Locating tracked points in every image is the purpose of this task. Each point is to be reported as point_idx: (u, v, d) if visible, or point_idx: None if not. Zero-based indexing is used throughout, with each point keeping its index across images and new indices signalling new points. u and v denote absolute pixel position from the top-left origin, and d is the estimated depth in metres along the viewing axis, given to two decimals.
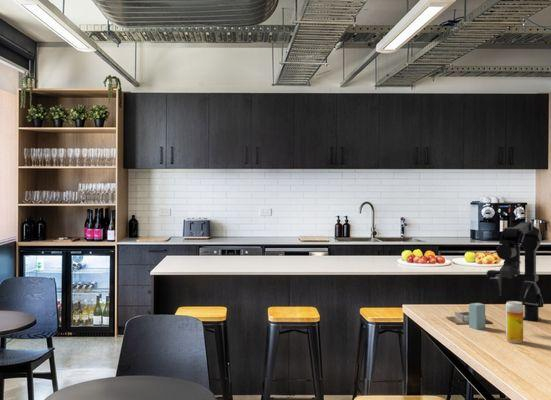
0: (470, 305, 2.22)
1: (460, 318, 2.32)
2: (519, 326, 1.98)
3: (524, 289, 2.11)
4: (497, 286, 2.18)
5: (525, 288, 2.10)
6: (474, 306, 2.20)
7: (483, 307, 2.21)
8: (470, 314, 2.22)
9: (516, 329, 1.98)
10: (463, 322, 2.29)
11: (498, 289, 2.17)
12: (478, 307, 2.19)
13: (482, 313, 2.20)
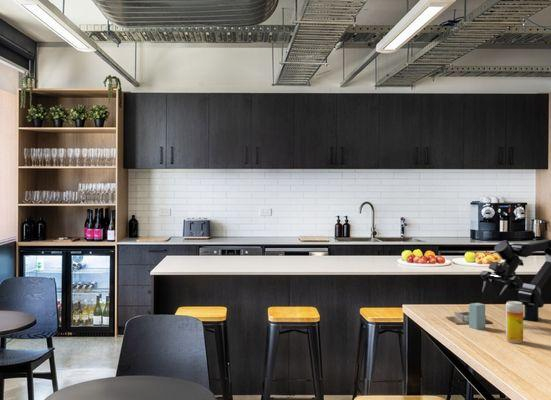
0: (470, 305, 2.22)
1: (460, 318, 2.32)
2: (519, 326, 1.98)
3: (504, 288, 2.21)
4: (484, 284, 2.30)
5: (505, 287, 2.21)
6: (474, 306, 2.20)
7: (483, 307, 2.21)
8: (470, 314, 2.22)
9: (516, 329, 1.98)
10: (463, 322, 2.29)
11: (483, 286, 2.30)
12: (478, 307, 2.19)
13: (482, 313, 2.20)
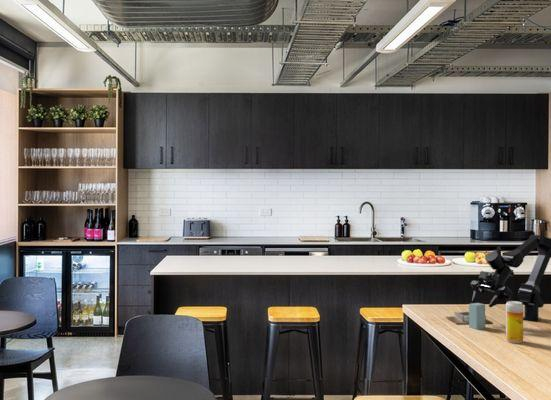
0: (470, 305, 2.22)
1: (460, 318, 2.32)
2: (519, 326, 1.98)
3: (493, 298, 2.19)
4: (474, 293, 2.28)
5: (495, 297, 2.18)
6: (474, 306, 2.20)
7: (483, 307, 2.21)
8: (470, 314, 2.22)
9: (516, 329, 1.98)
10: (463, 322, 2.29)
11: (473, 296, 2.28)
12: (478, 307, 2.19)
13: (482, 313, 2.20)
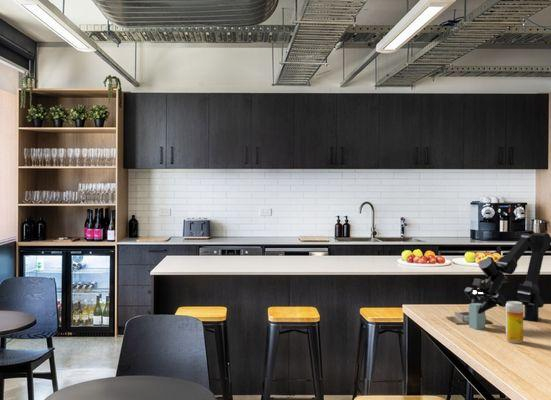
0: (470, 305, 2.22)
1: (460, 318, 2.32)
2: (519, 326, 1.98)
3: (482, 304, 2.19)
4: (472, 302, 2.24)
5: (484, 303, 2.19)
6: (474, 306, 2.20)
7: None
8: (470, 314, 2.22)
9: (516, 329, 1.98)
10: (463, 322, 2.29)
11: None
12: (478, 307, 2.19)
13: (481, 313, 2.20)
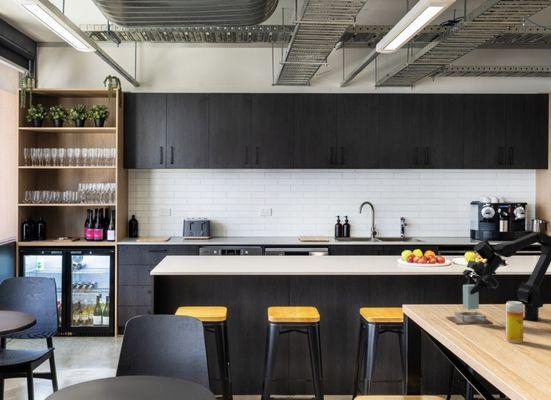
0: (463, 286, 2.30)
1: (460, 318, 2.32)
2: (519, 326, 1.98)
3: (475, 285, 2.27)
4: (467, 283, 2.32)
5: (476, 284, 2.26)
6: (466, 287, 2.28)
7: None
8: (463, 295, 2.30)
9: (516, 329, 1.98)
10: (463, 322, 2.29)
11: None
12: (470, 288, 2.27)
13: (474, 294, 2.27)
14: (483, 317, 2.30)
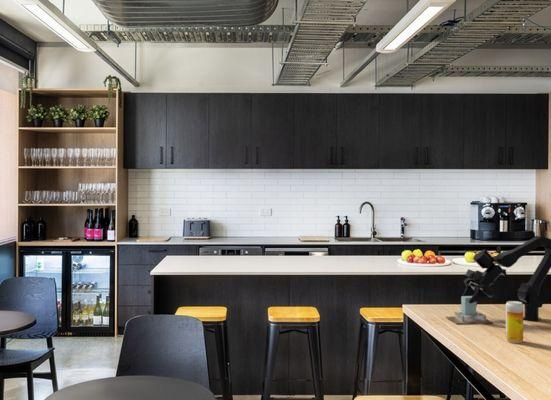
0: (462, 297, 2.35)
1: (460, 318, 2.32)
2: (519, 326, 1.98)
3: (474, 294, 2.30)
4: (465, 291, 2.38)
5: (475, 294, 2.29)
6: (464, 298, 2.33)
7: None
8: (462, 306, 2.35)
9: (516, 329, 1.98)
10: (463, 322, 2.29)
11: (464, 293, 2.38)
12: (467, 299, 2.32)
13: (472, 305, 2.32)
14: (483, 317, 2.30)
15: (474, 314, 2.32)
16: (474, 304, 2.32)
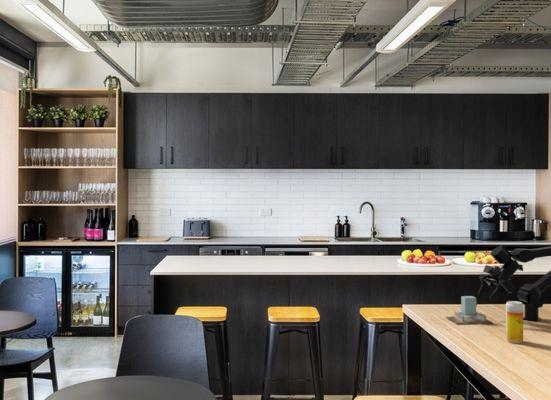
0: (462, 297, 2.35)
1: (460, 318, 2.32)
2: (519, 326, 1.98)
3: (494, 291, 2.27)
4: (481, 286, 2.38)
5: (495, 290, 2.27)
6: (464, 298, 2.33)
7: (474, 300, 2.32)
8: (462, 306, 2.35)
9: (516, 329, 1.98)
10: (463, 322, 2.29)
11: (480, 289, 2.37)
12: (468, 299, 2.32)
13: (472, 305, 2.32)
14: (483, 317, 2.30)
15: (474, 314, 2.32)
16: (474, 304, 2.32)
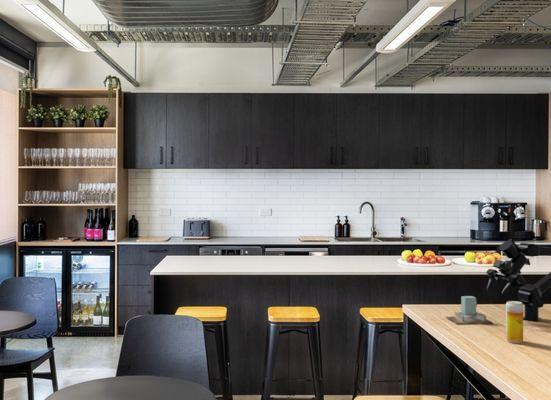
0: (462, 297, 2.35)
1: (460, 318, 2.32)
2: (519, 326, 1.98)
3: (506, 285, 2.25)
4: (489, 281, 2.35)
5: (507, 285, 2.25)
6: (464, 298, 2.33)
7: (474, 300, 2.32)
8: (462, 306, 2.35)
9: (516, 329, 1.98)
10: (463, 322, 2.29)
11: (488, 284, 2.34)
12: (468, 299, 2.32)
13: (472, 305, 2.32)
14: (483, 317, 2.30)
15: (474, 314, 2.32)
16: (474, 304, 2.32)
